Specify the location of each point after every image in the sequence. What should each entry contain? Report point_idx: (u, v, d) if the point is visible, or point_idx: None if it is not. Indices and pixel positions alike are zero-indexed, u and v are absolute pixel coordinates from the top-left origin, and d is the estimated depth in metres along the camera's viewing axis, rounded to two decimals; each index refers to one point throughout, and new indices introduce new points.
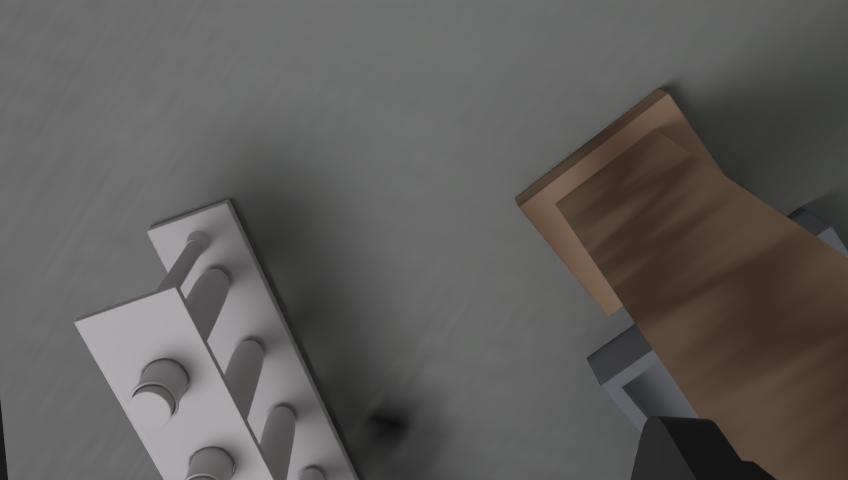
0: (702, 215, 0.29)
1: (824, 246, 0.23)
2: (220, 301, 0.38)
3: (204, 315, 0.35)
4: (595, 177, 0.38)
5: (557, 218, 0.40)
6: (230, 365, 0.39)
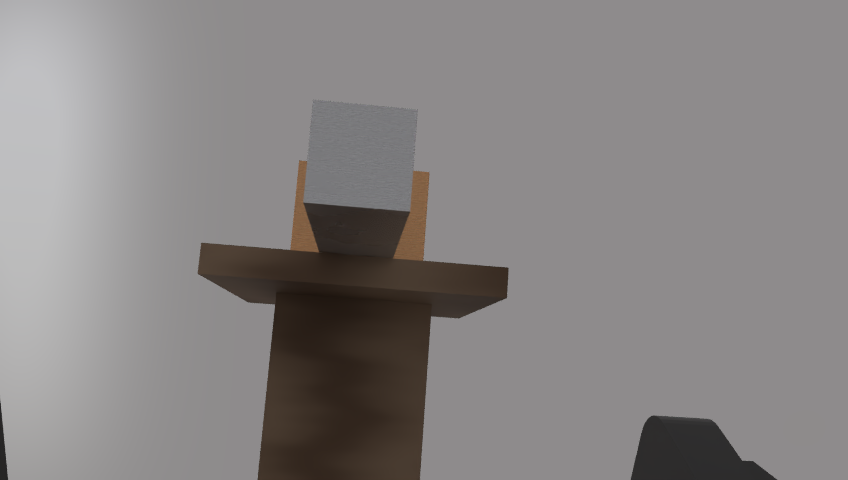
0: None
1: None
2: None
3: None
4: None
5: None
6: None
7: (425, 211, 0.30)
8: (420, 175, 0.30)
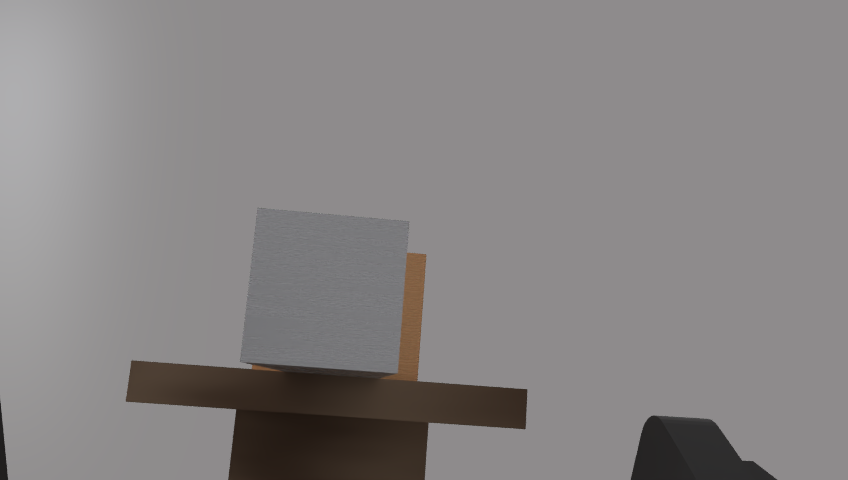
0: None
1: None
2: None
3: None
4: None
5: None
6: None
7: (421, 303, 0.24)
8: (415, 258, 0.25)
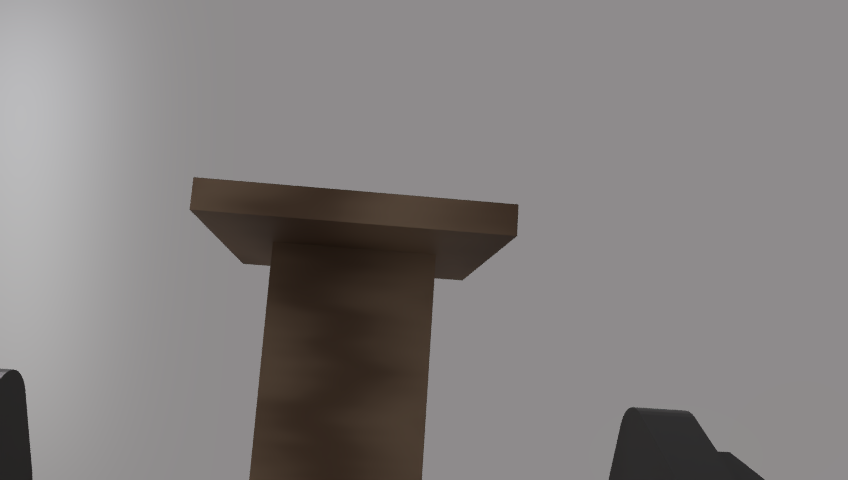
0: None
1: None
2: None
3: None
4: None
5: None
6: None
7: None
8: None
